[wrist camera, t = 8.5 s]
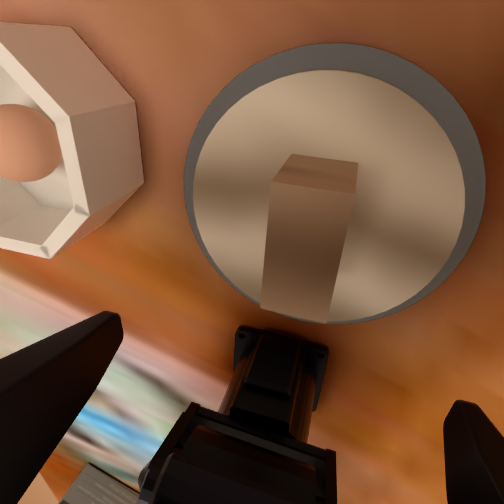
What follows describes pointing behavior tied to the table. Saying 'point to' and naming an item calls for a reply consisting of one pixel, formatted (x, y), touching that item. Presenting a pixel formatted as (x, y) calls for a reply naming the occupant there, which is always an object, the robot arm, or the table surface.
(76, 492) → the skincare box
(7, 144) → the ball
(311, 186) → the lid
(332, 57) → the mat
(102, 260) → the table surface
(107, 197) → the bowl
